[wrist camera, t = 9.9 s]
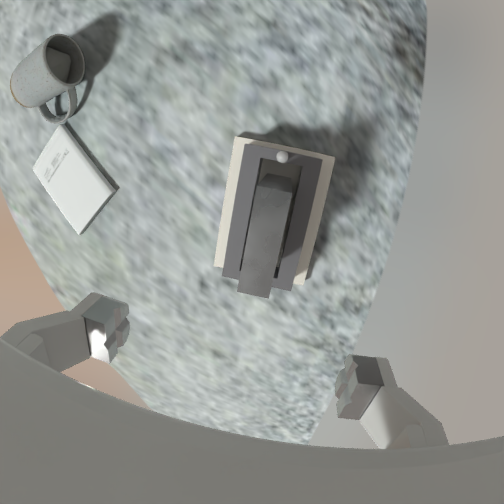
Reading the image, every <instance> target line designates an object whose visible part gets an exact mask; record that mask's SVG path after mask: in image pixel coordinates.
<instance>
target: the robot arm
mask: <svg viewBox="0 0 504 504" xmlns="http://www.w3.org/2000/svg"><path fill="white" fill-rule="evenodd" d="M128 314H129V306H128V304H127V303H125V302H122V301H119V300H116V299H113V298H110V297H107V296H104V295H101V294H98V293H95V292H93V293H90V294H89V295H88V296H87V297H86V298H85V299H84V300H82V301H81V302H80V303H79V304H78V305H77V306H76V307H75V308H73V309H72V310H71V311H70V312H69V311H63V312H59V313H55V314H51V315H47V316H43V317H39V318H35V319H31V320H27V321H23V322H19V323H16V324H15V325H14V326H13V327H11V328H10V329H9V330H8V331H7V332H6V333H4V334H3V335H2V336H1V337H0V504H504V436H502V437H497V438H492V439H487V440H481V441H475V442H469V443H462V444H454V445H449V443H448V440H447V437H446V434H445V432H444V429H443V426H442V423H441V422H440V421H438V420H437V419H436V418H435V417H434V416H433V415H432V414H431V413H429V412H428V411H427V410H426V409H425V408H423V406H421V405H420V404H419V403H418V402H417V401H416V400H414V399H413V398H412V397H411V396H410V395H409V394H408V393H407V392H405V391H404V390H403V389H402V388H398V387H397V384H396V381H395V378H394V375H393V372H392V369H391V366H390V364H389V361H388V359H386V358H379V357H367V356H359V355H352V354H349V355H348V356H347V357H346V359H345V361H344V365H345V368H344V369H342V370H341V371H340V372H339V374H338V376H337V379H336V383H335V395H336V396H337V397H338V399H339V400H338V402H337V404H336V406H337V413H338V418H346V419H355V420H359V421H360V423H361V424H362V426H363V427H364V428H365V430H366V431H367V433H368V434H369V435H370V437H371V438H372V439H373V440H374V442H375V443H376V445H377V446H378V447H379V449H354V448H334V447H320V446H311V445H302V444H294V443H286V442H279V441H273V440H267V439H261V438H255V437H250V436H245V435H240V434H235V433H230V432H226V431H221V430H217V429H213V428H209V427H205V426H201V425H197V424H194V423H190V422H186V421H183V420H179V419H176V418H173V417H169V416H166V415H163V414H160V413H157V412H154V411H151V410H148V409H145V408H142V407H139V406H136V405H134V404H131V403H128V402H126V401H123V400H121V399H118V398H116V397H113V396H111V395H108V394H106V393H104V392H101V391H99V390H96V389H94V388H92V387H90V386H87V385H85V384H83V383H81V382H79V381H77V380H75V379H72V378H70V377H68V376H66V375H64V374H62V373H60V372H61V371H63V370H66V369H68V368H70V367H72V366H74V365H76V364H78V363H80V362H82V361H84V360H86V359H89V358H90V356H91V357H93V358H96V359H99V360H101V361H104V362H107V363H109V364H110V363H111V361H112V360H113V358H114V357H115V356H116V354H117V353H118V350H117V348H118V347H121V346H123V345H124V344H125V342H126V341H127V338H128V335H129V330H130V323H129V321H128V320H127V318H126V316H127V315H128Z"/></svg>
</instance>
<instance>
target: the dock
mask: <svg viewBox="0 0 504 504" xmlns="http://www.w3.org/2000/svg"><path fill="white" fill-rule="evenodd" d="M334 161H335V157H332V156H328V155H324V154H320V153H316V152H312V151H307V150H303V149H299V148H294V147H289V146H284V145H280V144H275V143H269V142H264V141H259V140H253V139H248V138H242V137H236V136H235V140H234V146H233V151H232V157H231V162H230V168H229V174H228V180H227V185H226V191H225V197H224V203H223V209H222V216H221V222H220V228H219V235H218V241H217V248H216V254H215V261H214V266H217V267H221V268H223V272H222V276H224V277H229V278H233V279H237V280H239V279H240V273H241V268H242V262H243V257H244V251H245V246H246V241H247V235H248V230H249V224H250V219H251V214H252V208H253V203H254V198H255V192H256V187H257V185H258V184H259V183H260V181H261V180H262V179H263V178H264V177H265V175H266V174H267V173H270V174H275V175H280V176H284V177H289V178H292V197H291V201H290V206H289V211H288V215H287V220H286V224H285V229H284V233H283V238H282V242H281V247H280V251H279V256H278V260H277V264H276V269H275V273H274V277H273V282H272V286H271V287H274V288H279V289H283V290H288V291H291V289H292V285H293V283H294V284H299V285H304V281H305V278H306V274H307V270H308V267H309V263H310V259H311V256H312V252H313V248H314V244H315V241H316V237H317V233H318V229H319V225H320V221H321V217H322V213H323V209H324V205H325V201H326V196H327V192H328V188H329V184H330V179H331V175H332V170H333V166H334Z"/></svg>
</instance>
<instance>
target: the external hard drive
mask: <svg viewBox="0 0 504 504" xmlns="http://www.w3.org/2000/svg"><path fill="white" fill-rule="evenodd" d="M33 171H34V172H35V174H36V175H37V177H38V178H39V180H40V181H41V183H42V184H43V186H44V187H45V189H46V190H47V192H48V193H49V195H50V196H51V198H52V199H53V200H54V202H55V203H56V205H57V206H58V207H59V209H60V210H61V212H62V213H63V214H64V216H65V217H66V219H67V220H68V221H69V223H70V224H71V225H72V226H73V228H74V229H75V230H76V232H77V233H78V234H79V235H81V234H83V233H84V231H85V230H86V229H87V227H88V226H89V225H90V223H91V222H92V221H93V220H94V218H95V217H96V216H97V214H98V213H99V212H100V211H101V209H102V208H103V207H104V206H105V204H106V203H107V202H108V201H109V200H110V198H111V197H112V196H113V195H114V194H115V192H116V190H115V189H114V188H113V187H112V185H111V184H110V183H109V182H108V180H107V179H106V178H105V177H104V175H103V174H102V173H101V172H100V170H99V169H98V168H97V167H96V165H95V164H94V163H93V161H92V160H91V159H90V158H89V156H88V155H87V154H86V152H85V151H84V150H83V148H82V147H81V146H80V144H79V143H78V142H77V140H76V139H75V138H74V137H73V135H72V134H71V132H70V131H69V130H68V128H67V127H66V126H65V124H60V125H59V126H58V128H57V129H56V131H55V132H54V134H53V135H52V137H51V139H50V140H49V142H48V143H47V145H46V147H45V148H44V150H43V151H42V153H41V155H40V156H39V158H38V160H37V162H36V163H35V165H34V167H33Z"/></svg>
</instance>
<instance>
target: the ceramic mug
mask: <svg viewBox="0 0 504 504" xmlns="http://www.w3.org/2000/svg"><path fill="white" fill-rule="evenodd" d="M84 72H85V60H84V56H83V53H82V51H81V49H80V47H79V46H78V44H77V43H76V42H75V41H74V40H73V39H72V38H70V37H69V36H67V35H63V34H55V35H52V36H50V37H49V38H48V39H46V40H45V41H44V42H43V43H42V44H41V45H39V46H38V47H37V48H36V49H35V50H34V51H32V52H31V53H30V54H29V55H28V56H27V57H26V58H25V59H24V60H23V61H21V62H20V63H19V65H18V66H17V67H16V69H15V70H14V72H13V74H12V76H11V81H10V89H11V92H12V95H13V97H14V99H15V100H16V101H17V102H18V103H19V104H20V105H22V106H25V107H28V108H32V107H38V108H39V111H40V113H41V115H42V116H43V117H44V118H45V120H46V121H48V122H50V123H53V124H57V123H61V122H64V121H65V120H67V119H68V118H70V117H71V116H72V115H73V114H74V112H75V110H76V107H77V94H76V89H75V86H76V85H77V84H79V83H80V81H81V80H82V78H83V76H84ZM65 91H67V93H68V99H69V109H68V112H67V114H65V115H58V116H57V117H56V116H54V115H53V114H52V113H51V112H50V111H49V109H48V107H47V105H46V102H48V101H49V100H51V99H53V98H54V97H56V96H57V95H60V94H62V93H63V92H65Z"/></svg>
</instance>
